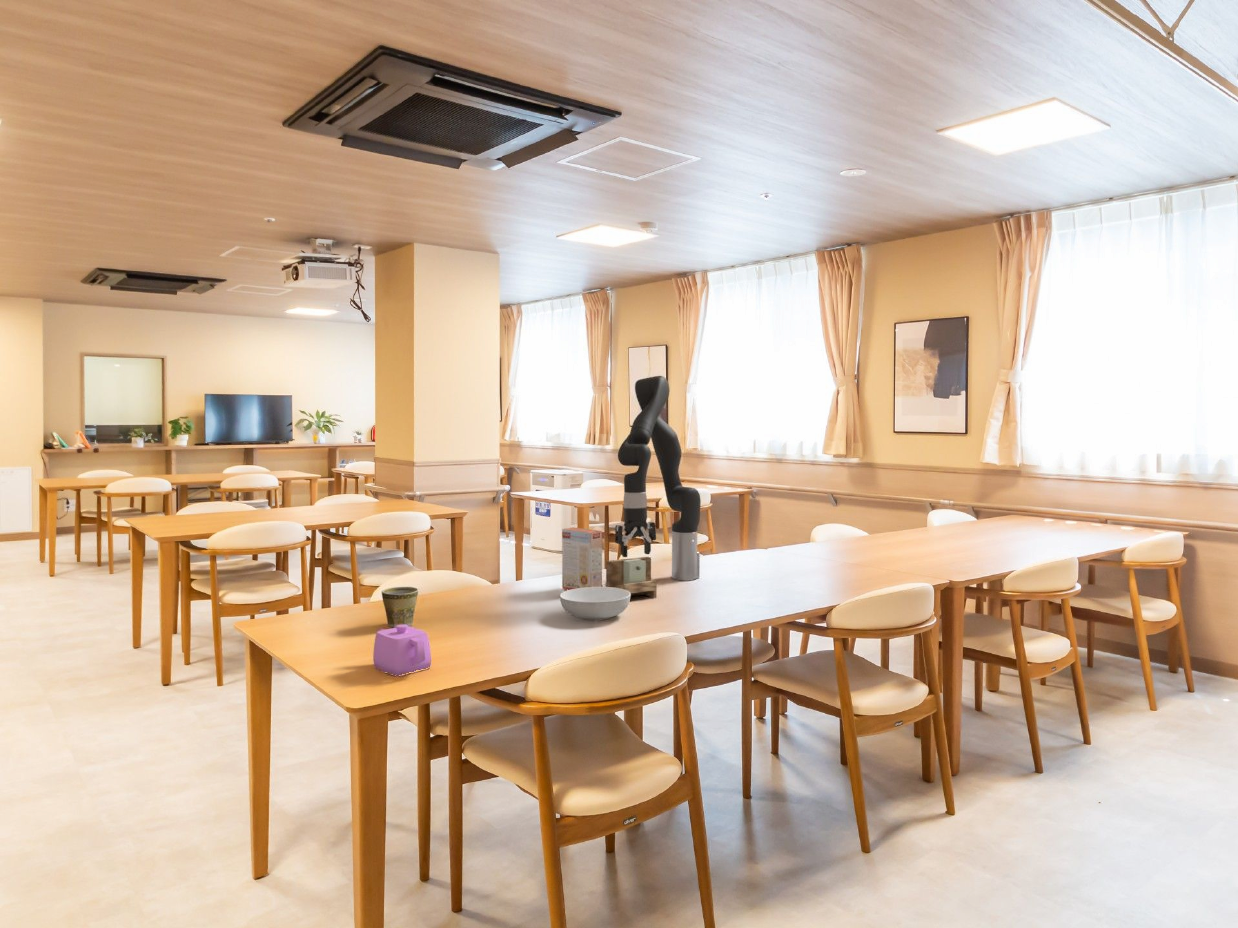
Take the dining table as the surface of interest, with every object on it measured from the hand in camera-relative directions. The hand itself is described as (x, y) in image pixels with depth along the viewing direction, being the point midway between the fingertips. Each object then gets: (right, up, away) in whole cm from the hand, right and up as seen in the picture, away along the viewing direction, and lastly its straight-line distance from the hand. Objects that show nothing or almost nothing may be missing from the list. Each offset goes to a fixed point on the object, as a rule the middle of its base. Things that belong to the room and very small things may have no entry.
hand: (635, 555), depth 267 cm
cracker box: (-18, -13, +11) cm, 25 cm away
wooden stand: (-1, -14, +1) cm, 14 cm away
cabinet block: (0, -10, +1) cm, 10 cm away
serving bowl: (-13, -16, -24) cm, 31 cm away
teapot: (-57, -19, -73) cm, 94 cm away
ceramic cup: (-68, -16, -33) cm, 77 cm away
